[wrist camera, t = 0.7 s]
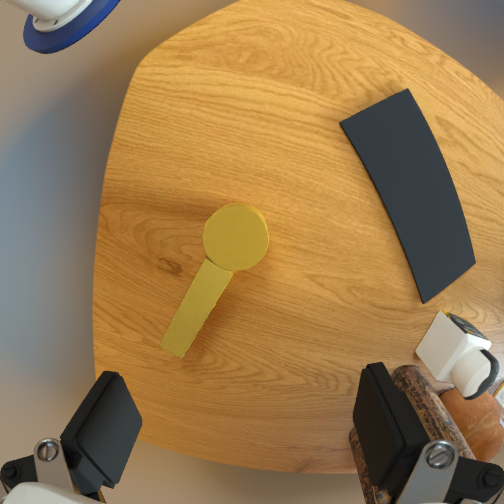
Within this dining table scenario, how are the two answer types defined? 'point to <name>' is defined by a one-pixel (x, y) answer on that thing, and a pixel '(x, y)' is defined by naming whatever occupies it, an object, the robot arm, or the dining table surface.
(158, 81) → the dining table surface
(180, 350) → the yellow disc-ended bar
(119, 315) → the dining table surface
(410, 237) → the mat
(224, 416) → the dining table surface
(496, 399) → the cup
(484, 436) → the bread
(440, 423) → the book
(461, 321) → the medicine bottle
